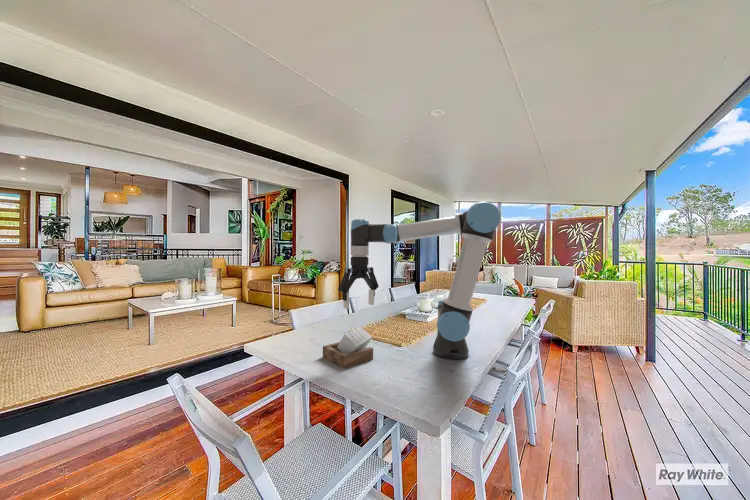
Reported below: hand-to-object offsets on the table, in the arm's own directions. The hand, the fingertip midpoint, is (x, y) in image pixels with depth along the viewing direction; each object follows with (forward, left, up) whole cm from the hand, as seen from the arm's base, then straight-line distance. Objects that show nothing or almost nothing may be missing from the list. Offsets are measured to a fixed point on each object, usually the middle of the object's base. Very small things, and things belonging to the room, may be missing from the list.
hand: (359, 306), depth 122 cm
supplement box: (+2, -4, -15) cm, 15 cm away
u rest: (0, +5, -21) cm, 21 cm away
